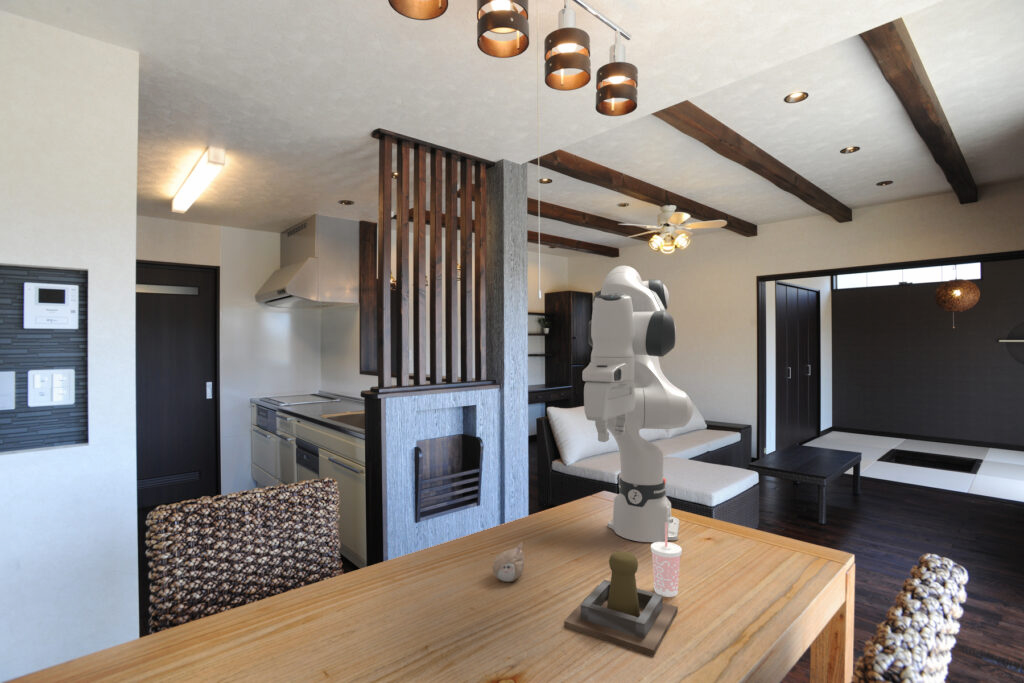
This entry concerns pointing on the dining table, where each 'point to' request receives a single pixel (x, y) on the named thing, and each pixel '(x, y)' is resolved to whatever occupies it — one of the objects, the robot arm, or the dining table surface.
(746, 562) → the dining table surface
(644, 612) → the socket base
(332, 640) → the dining table surface
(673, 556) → the beverage cup
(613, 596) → the olive pawn peg
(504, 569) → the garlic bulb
